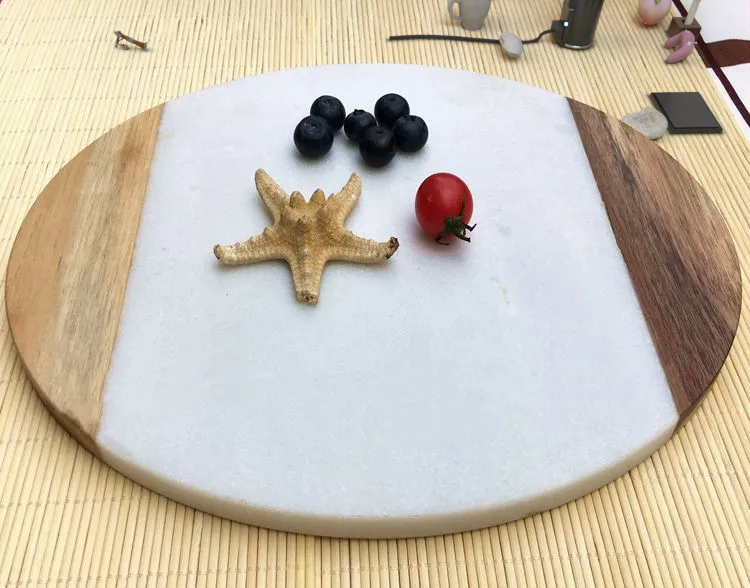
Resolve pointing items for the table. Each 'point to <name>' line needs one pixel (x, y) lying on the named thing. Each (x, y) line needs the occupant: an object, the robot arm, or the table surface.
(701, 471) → the table surface
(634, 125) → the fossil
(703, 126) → the tablet
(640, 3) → the decorative fruit
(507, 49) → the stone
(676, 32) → the pen block
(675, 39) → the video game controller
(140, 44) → the wooden post with brackets
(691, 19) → the stylus
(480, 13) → the mug
